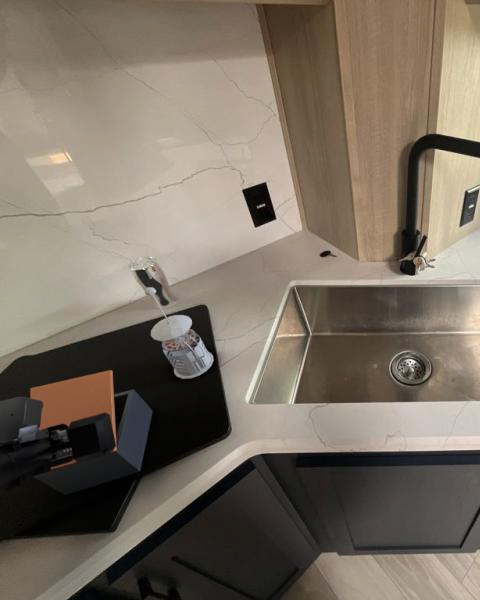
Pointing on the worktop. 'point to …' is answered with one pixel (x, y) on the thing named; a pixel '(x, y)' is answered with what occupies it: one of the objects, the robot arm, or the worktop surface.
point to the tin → (114, 465)
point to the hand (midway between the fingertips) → (72, 435)
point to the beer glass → (153, 280)
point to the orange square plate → (76, 401)
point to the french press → (181, 344)
